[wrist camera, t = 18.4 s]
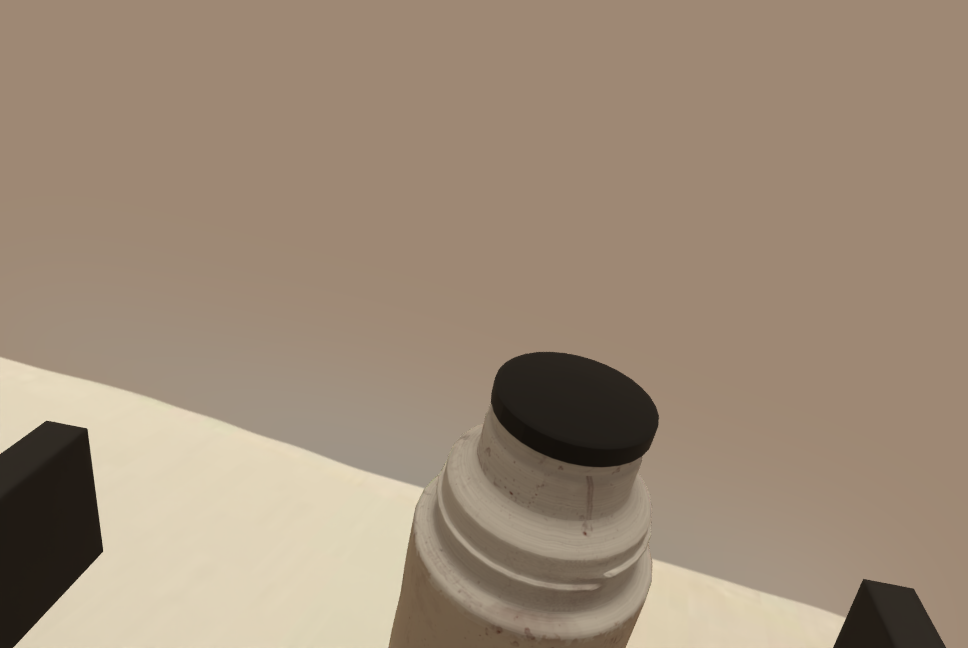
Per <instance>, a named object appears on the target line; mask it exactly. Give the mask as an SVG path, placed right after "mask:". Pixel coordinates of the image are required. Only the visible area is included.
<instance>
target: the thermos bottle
mask: <svg viewBox="0 0 968 648" xmlns="http://www.w3.org/2000/svg"><path fill="white" fill-rule="evenodd" d="M658 419H659V415H658V412H657V409H656V406H655V404H654V403H653V401H652V399H651V398H650V396H649V395H648V394H647V393H646V392H645V391H644V390H643V389H642V388H641V387H640V386H639V385H638V384H637V383H635V382H634V381H633V380H632V379H630V378H629V377H627V376H626V375H624V374H622V373H621V372H619V371H617V370H615V369H613V368H611V367H609V366H607V365H605V364H602V363H599V362H597V361H594V360H591V359H588V358H584V357H581V356H577V355H572V354H566V353H557V352H536V353H529V354H524V355H521V356H518V357H515V358H513V359H511V360H509V361H507V362H506V363H505V364H504V365H503V366H502V367H501V368H500V369H499V370H498V373H497V375H496V377H495V380H494V385H493V389H492V395H491V405H490V407H489V409H488V411H487V413H486V416H485V420H484V423H482V424H480V425H477V426H475V427H473V428H472V429H470V430H469V431H467V432H466V433H464V434H463V435H462V436H461V437H460V438H459V439H458V440H457V441H456V443H455V444H454V445H453V447H452V449H451V452H450V454H449V456H448V459H447V461H446V463H445V464H444V466H443V468H442V470H441V472H440V474H439V475H437V476H436V477H435V478H434V479H433V480H432V481H431V482H430V483H429V485H428V486H427V487H426V488H425V489H424V491H423V493H422V495H421V497H420V499H419V501H418V503H417V505H416V508H415V513H414V518H413V523H412V528H411V533H410V539H409V544H408V549H407V555H406V561H405V567H404V574H403V581H402V588H401V593H400V598H399V602H398V606H397V610H396V614H395V619H394V623H393V628H392V632H391V638H390V643H389V648H626V645H627V643H628V640H629V638H630V636H631V633H632V631H633V629H634V626H635V624H636V621H637V619H638V617H639V614H640V612H641V610H642V607H643V605H644V602H645V600H646V597H647V594H648V591H649V588H650V585H651V582H652V559H651V554H650V550H649V545H648V543H649V540H650V537H651V514H652V504H651V499H650V496H649V492H648V489H647V487H646V485H645V483H644V481H643V479H642V477H641V476H640V474H639V473H638V470H639V468H640V465H641V462H642V456H643V455H644V454H645V452H647V450H649V448H650V445H651V443H652V441H653V438H654V436H655V433H656V430H657V428H658Z"/></svg>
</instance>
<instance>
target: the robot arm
mask: <svg viewBox="0 0 968 648" xmlns="http://www.w3.org/2000/svg"><path fill="white" fill-rule="evenodd" d="M102 552H103V546H102V538H101V530H100V523H99V515H98V507H97V499H96V492H95V484H94V476H93V469H92V461H91V453H90V446H89V438H88V430H87V428H82V427H76V426H71V425H66V424H61V423H56V422H51V421H45V422H44V423H43V424H41V425H40V426H39V427H37V428H36V429H34V430H33V431H32V432H30V433H29V434H28V435H26V436H25V437H23V438H22V439H21V440H19V441H18V442H16V443H15V444H14V445H12V446H11V447H10V448H8V449H7V450H5V451H4V452H3V453H1V454H0V648H13V647H14V646H15V645H16V644H17V643H18V642H19V641H20V640H21V639H22V638H23V637H24V636H25V634H26V633H27V632H28V631H29V630H30V629H31V628H32V627H33V626H34V625H35V624H36V623H37V622H38V621H39V619H40V618H41V617H42V616H43V615H44V614H45V613H46V612H47V611H48V610H49V609H50V608H51V607H52V606H53V605H54V603H55V602H56V601H57V600H58V599H59V598H60V597H61V596H62V595H63V594H64V593H65V592H66V591H67V590H68V589H69V587H70V586H71V585H72V584H73V583H74V582H75V581H76V580H77V579H78V578H79V577H80V576H81V575H82V574H83V572H84V571H85V570H86V569H87V568H88V567H89V566H90V565H91V564H92V563H93V562H94V561H95V560H96V559H97V558H98V556H99V555H100V554H101V553H102ZM833 648H946V647H945V645H944V643H943V641H942V640H941V638H940V636H939V634H938V632H937V630H936V629H935V627H934V625H933V623H932V621H931V619H930V618H929V616H928V614H927V612H926V610H925V609H924V607H923V605H922V603H921V601H920V599H919V598H918V596H917V594H916V592H915V590H914V589H912V588H907V587H902V586H897V585H892V584H887V583H881V582H876V581H871V580H866V579H863V581H862V583H861V585H860V588H859V590H858V593H857V595H856V597H855V599H854V601H853V604H852V606H851V608H850V611H849V613H848V615H847V617H846V620H845V622H844V624H843V627H842V629H841V631H840V633H839V636H838V638H837V640H836V643H835V645H834V647H833Z"/></svg>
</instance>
